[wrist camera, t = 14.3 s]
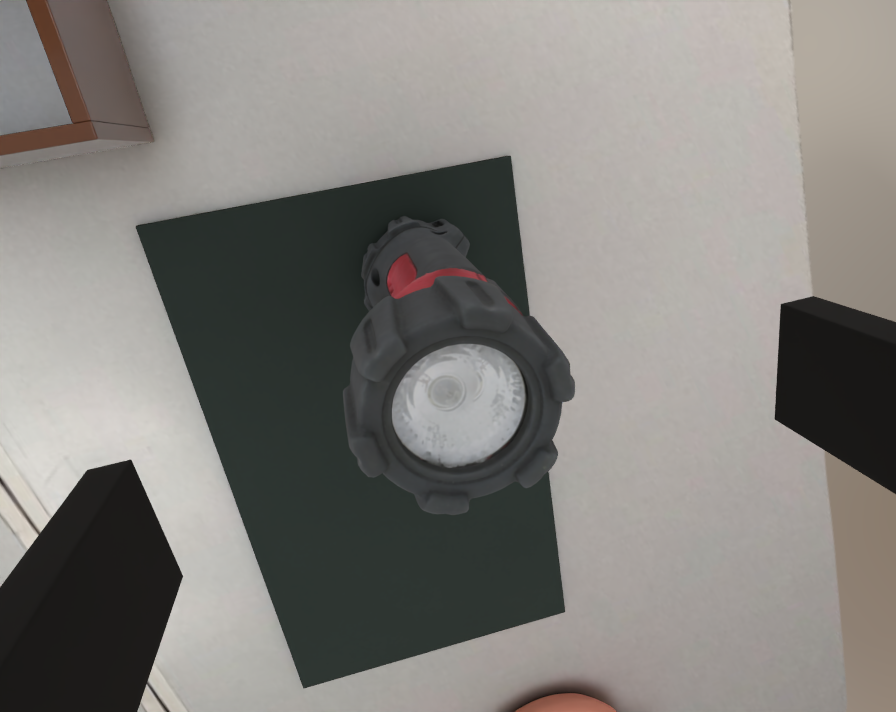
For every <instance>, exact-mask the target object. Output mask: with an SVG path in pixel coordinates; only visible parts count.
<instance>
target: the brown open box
mask: <svg viewBox="0 0 896 712" xmlns="http://www.w3.org/2000/svg"><path fill="white" fill-rule="evenodd" d="M26 2H27V4H28V7H29V9H30V12H31V15H32V17H33V20H34V23H35V25H36V28H37V31H38V33H39V36H40V38H41V41H42V44H43V46H44V49H45V52H46V54H47V57H48V60H49V62H50V65H51V68H52V70H53V73H54V75H55V78H56V81H57V83H58V86H59V89H60V91H61V94H62V97H63V99H64V102H65V104H66V107H67V110H68V112H69V115H70V118H71V120H72V122H73V124H67V125H61V126H55V127H49V128H42V129H36V130H30V131H24V132H18V133H12V134H6V135H0V169H1V168H7V167H13V166H18V165H24V164H30V163H36V162H42V161H48V160H53V159H59V158H65V157H71V156H77V155H83V154H88V153H94V152H100V151H106V150H112V149H118V148H123V147H129V146H135V145H141V144H147V143H153V142H154V139H153V136H152V133H151V130H150V128H149V124H148V121H147V118H146V115H145V112H144V109H143V106H142V103H141V100H140V97H139V94H138V91H137V88H136V85H135V82H134V79H133V76H132V73H131V70H130V67H129V64H128V61H127V58H126V55H125V52H124V49H123V46H122V43H121V40H120V37H119V34H118V31H117V28H116V25H115V22H114V19H113V16H112V13H111V10H110V7H109V4H108V1H107V0H26Z"/></svg>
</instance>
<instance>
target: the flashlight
mask: <svg viewBox="0 0 896 712" xmlns="http://www.w3.org/2000/svg"><path fill="white" fill-rule="evenodd" d="M469 246H470V243H469V241H468V239H467V238H466V236H465V235H464V234H463V233H462V232H461V231H460V230H459V228H457V227H456V226H454V225H452V224H450V223H449V222H448V221H446V220H445V219H439V220H437V221H434V222H431V223H426V222H424V221H420V220H412V219H410V218H408V217H406V216H403V217H400V218H399V219H398V220H392V221H391V222H389V224H388V231H387V232H386V233H385V234H384V235H383V236H382V237H381V238H380V239H379V240H378V242H377V243H371V244H369V246H368V248H367V250H368V251H367V253H366V254H365V255H364V257H363V265H362V272H361V277H362V278H363V279H364V289H365V298H364V304H365V306H366V307H367V309H368V310H369V312H368V313H367V315H366V316H365V317H364V318H363V320H362V321H361V323H360V324H359V326H358V328H357V329H356V331H355V333H354V335H353V337H352V339H351V342H350V348H351V351H352V354H353V360H352V365H351V374H350V385H349V386H348V387H346V388H344V390H343V402H344V412H345V422H346V429H347V436H348V442H349V447H350V449H351V451H352V453H353V454H354V455H355V456H356V457H357V462H358V466H359V467H360V469H361V470H362V471H363V472H364V473H365V474H366V475H367V476H368V477H377V476H379V475H380V474H382V473H383V474H384V475H385V476H386V477H387V478H388V479H389V480H390V481H392V482H393V483H394V484H396V485H397V486H399V487H401V488H402V489H404V490H406V491H408V492H411V493H413V494H414V495H415V498H416V500H417V503H418V505H419V507H420V508H421V509H422V510H423V511H426V512H429V513H432V514H449V515H457V514H462V513H466V512H467V511H468V510H469V501H470V500H471V499H472V498H477V497H481V496H485V495H488V494H491V493H494V492H496V491H498V490H501V489H503V488H505V487H506V486H508V485H510V484H511V483H513V482H515V481H516V482H519V483H520V484H521V485H522V486H523V487H524V488H529V487H531V486H533V485H534V484H536V483H537V482H538V481H539V480H540V479H541V478H542V477H543V475H544V474H545V473H547V472H548V471H549V470H550V469H551V468H552V466H553V465H554V463H555V461H556V459H557V456H558V452H557V449H556V447H555V445H554V443H553V441H552V439H553V437H554V435H555V433H556V430H557V427H558V424H559V420H560V416H561V408H562V402H567V401H569V400H572V398H573V397H574V393H575V382H574V379H573V377H572V376H571V375H570V363H569V361H568V359H567V358H566V356H565V355H564V353H563V352H562V351H561V349H560V348H559V347H558V346H557V344H556V343H555V342H554V341H553V340H552V338H551V337H550V336H549V335H548V334H547V332H546V331H545V330H544V329H543V328H542V326H541V325H540V324H539V323H538V322H537V320H536V319H535V318H534V317H532V316H526V317H525V316H523V314H522V313H521V311H520V310H519V308H518V307H517V306H516V304H515V303H514V302H513V301H512V299H511V298H510V297H509V296H508V295H507V294H506V293H505V292H504V291H503V290H502V289H501V288H500V287H499V286H498V285H497V284H496V282H495V281H493V280H490V279H488V278H486V277H485V276H484V275H483V274H482V273H481V272H480V271H479V270H478V269H477V268H476V267H475V266H474V265H473V264H472V263H471V262H470V261H469V260H468V259H466V255H467V252H468V249H469Z"/></svg>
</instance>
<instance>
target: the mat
mask: <svg viewBox="0 0 896 712" xmlns="http://www.w3.org/2000/svg"><path fill="white" fill-rule="evenodd" d="M403 216H406V217H408V218H410V219H412V220H420V221H424V222H426V223H431V222H434V221H437V220H439V219H445V220H446V221H448V222H449V223H450V224H452V225H454V226H456V227H457V228H459V230H460V231H461V232H462V233H463V234H464V235H465V236H466V238H467V239H468V241H469V243H470V246H469V249H468V252H467V255H466V259H468V260H469V261H470V262H471V263H472V264H473V265H474V266H475V267H476V268H477V269H478V270H479V271H480V272H481V273H482V274H483V275H484V276H485V277H486V278H488V279H490V280H493V281H495V282H496V284H497V285H498V286H499V287H500V288H501V289H502V290H503V291H504V292H505V293H506V294H507V295H508V296H509V297H510V298H511V299H512V301H513V302H514V303H515V304H516V306H517V307H518V308H519V310H520V311H521V313H522V314H523V316H525V317H526V316H530V314H529V306H528V297H527V289H526V281H525V272H524V264H523V255H522V247H521V239H520V230H519V222H518V214H517V205H516V197H515V188H514V180H513V172H512V163H511V156H505V157H499V158H494V159H489V160H483V161H478V162H473V163H468V164H462V165H457V166H452V167H446V168H441V169H436V170H430V171H425V172H420V173H414V174H409V175H404V176H398V177H393V178H388V179H382V180H377V181H372V182H366V183H361V184H356V185H350V186H345V187H340V188H334V189H329V190H324V191H318V192H313V193H308V194H302V195H297V196H292V197H286V198H281V199H276V200H270V201H265V202H260V203H254V204H249V205H244V206H238V207H233V208H228V209H223V210H217V211H212V212H207V213H201V214H196V215H191V216H185V217H180V218H175V219H169V220H164V221H159V222H153V223H148V224H143V225H138V226H136V229H137V232H138V235H139V237H140V240H141V243H142V246H143V248H144V251H145V254H146V257H147V259H148V262H149V265H150V268H151V270H152V273H153V276H154V279H155V281H156V284H157V287H158V290H159V292H160V295H161V298H162V301H163V303H164V306H165V309H166V312H167V314H168V317H169V320H170V323H171V325H172V328H173V331H174V334H175V336H176V339H177V342H178V344H179V347H180V350H181V353H182V355H183V358H184V361H185V364H186V366H187V369H188V372H189V375H190V377H191V380H192V383H193V386H194V388H195V391H196V394H197V397H198V399H199V402H200V405H201V408H202V410H203V413H204V416H205V419H206V421H207V424H208V427H209V430H210V432H211V435H212V438H213V441H214V443H215V446H216V449H217V452H218V454H219V457H220V460H221V463H222V465H223V468H224V471H225V474H226V476H227V479H228V482H229V485H230V487H231V490H232V493H233V496H234V498H235V501H236V504H237V507H238V509H239V512H240V515H241V518H242V520H243V523H244V526H245V529H246V531H247V534H248V537H249V540H250V542H251V545H252V548H253V551H254V553H255V556H256V559H257V562H258V564H259V567H260V570H261V572H262V575H263V578H264V581H265V583H266V586H267V589H268V592H269V594H270V597H271V600H272V603H273V605H274V608H275V611H276V614H277V616H278V619H279V622H280V625H281V627H282V630H283V633H284V636H285V638H286V641H287V644H288V647H289V649H290V652H291V655H292V658H293V660H294V663H295V666H296V669H297V671H298V674H299V677H300V680H301V682H302V685H303V688H307V687H310V686H314V685H317V684H321V683H324V682H327V681H331V680H334V679H338V678H341V677H345V676H348V675H351V674H355V673H358V672H362V671H365V670H368V669H372V668H375V667H379V666H382V665H386V664H389V663H392V662H396V661H399V660H403V659H406V658H410V657H413V656H416V655H420V654H423V653H427V652H430V651H433V650H437V649H440V648H444V647H447V646H451V645H454V644H457V643H461V642H464V641H468V640H471V639H474V638H478V637H481V636H485V635H488V634H492V633H495V632H498V631H502V630H505V629H509V628H512V627H515V626H519V625H522V624H526V623H529V622H533V621H536V620H539V619H543V618H546V617H550V616H553V615H556V614H560V613H563V612H565V607H564V599H563V590H562V582H561V574H560V565H559V557H558V548H557V540H556V532H555V523H554V515H553V507H552V498H551V490H550V481H549V473H548V472H547V473H545V474H544V475H543V477H542V478H541V479H540V480H539V481H538V482H537V483H536V484H534V485H533V486H531V487H529V488H524V487H523V486H522V485H521V484H520V483H519V482H516V481H515V482H513V483H511V484H510V485H508V486H506V487H505V488H503V489H501V490H498V491H496V492H494V493H491V494H488V495H485V496H481V497H477V498H472V499H471V500H470V501H469V510H468V511H467V512H466V513H462V514H457V515H449V514H432V513H429V512H426V511H423V510H422V509H421V508H420V507H419V505H418V503H417V500H416V498H415V495H414V494H413V493H411V492H408V491H406V490H404V489H402V488H401V487H399V486H397V485H396V484H394V483H393V482H392V481H390V480H389V479H388V478H387V477H386V476H385V475H384V474H383V473H382V474H380V475H379V476H377V477H368V476H367V475H366V474H365V473H364V472H363V471H362V470H361V469H360V467H359V466H358V462H357V457H356V456H355V455H354V454H353V453H352V451H351V449H350V447H349V442H348V436H347V429H346V422H345V412H344V402H343V390H344V388H346V387H348V386H349V385H350V374H351V365H352V360H353V354H352V351H351V348H350V342H351V339H352V337H353V335H354V333H355V331H356V329H357V328H358V326H359V324H360V323H361V321H362V320H363V318H364V317H365V316H366V315H367V313H368V312H369V310H368V309H367V307H366V306H365V304H364V298H365V289H364V279H363V278H362V277H361V272H362V265H363V257H364V255H365V254H366V253H367V251H368V250H367V248H368V246H369V244H371V243H377V242H378V240H379V239H380V238H381V237H382V236H383V235H384V234H385V233H386V232H387V231H388V224H389V222H391V221H392V220H398V219H399V218H400V217H403Z"/></svg>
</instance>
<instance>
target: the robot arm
mask: <svg viewBox="0 0 896 712" xmlns="http://www.w3.org/2000/svg"><path fill="white" fill-rule="evenodd" d="M775 420H777V421H778V422H780V423H782V424H783V425H785V426H786V427H788V428H790V429H791V430H793V431H795V432H796V433H798V434H799V435H801V436H803V437H804V438H806V439H807V440H809V441H811V442H812V443H814V444H816V445H817V446H819V447H820V448H822V449H824V450H825V451H827V452H829V453H830V454H832V455H833V456H835V457H837V458H838V459H840V460H841V461H843V462H845V463H846V464H848V465H850V466H851V467H853V468H854V469H856V470H858V471H859V472H861V473H862V474H864V475H866V476H867V477H869V478H871V479H872V480H874V481H875V482H877V483H879V484H880V485H882V486H883V487H885V488H887V489H888V490H890V491H892V492H893V493H895V494H896V322H893V321H891V320H887V319H884V318H881V317H878V316H875V315H871V314H868V313H865V312H862V311H858V310H856V309H852V308H849V307H846V306H843V305H840V304H836V303H833V302H830V301H827V300H824V299H821V298H817V297H814V296H813V297H809V298H805V299H800V300H796V301H792V302H788V303H784V304H781V312H780V331H779V349H778V368H777V386H776V405H775ZM182 578H183V575H182V573H181V571H180V568H179V566H178V564H177V562H176V559H175V557H174V555H173V553H172V550H171V548H170V546H169V544H168V541H167V539H166V537H165V535H164V532H163V530H162V528H161V526H160V523H159V521H158V519H157V517H156V514H155V512H154V510H153V508H152V505H151V503H150V501H149V499H148V496H147V494H146V492H145V490H144V487H143V485H142V483H141V481H140V478H139V476H138V474H137V472H136V469H135V467H134V465H133V463H132V460H127V461H123V462H119V463H115V464H111V465H107V466H102V467H98V468H94V469H90V470H87V471H86V472H85V474H84V475H83V477H82V478H81V479H80V481H79V482H78V483H77V485H76V486H75V487H74V489H73V490H72V491H71V493H70V494H69V495H68V497H67V498H66V499H65V501H64V502H63V503H62V505H61V506H60V508H59V509H58V510H57V512H56V513H55V514H54V516H53V517H52V518H51V520H50V521H49V522H48V524H47V525H46V526H45V528H44V529H43V530H42V532H41V533H40V534H39V536H38V537H37V538H36V540H35V541H34V543H33V544H32V545H31V547H30V548H29V549H28V551H27V552H26V553H25V555H24V556H23V557H22V559H21V560H20V561H19V563H18V564H17V565H16V567H15V568H14V569H13V571H12V572H11V574H10V575H9V576H8V578H7V579H6V580H5V582H4V583H3V584H2V586H1V587H0V712H137V711H138V708H139V705H140V702H141V699H142V696H143V693H144V690H145V687H146V684H147V681H148V678H149V675H150V672H151V669H152V666H153V663H154V660H155V657H156V654H157V652H158V649H159V646H160V643H161V640H162V637H163V634H164V631H165V628H166V625H167V622H168V619H169V616H170V613H171V610H172V607H173V604H174V601H175V598H176V595H177V592H178V590H179V587H180V584H181V581H182Z"/></svg>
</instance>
